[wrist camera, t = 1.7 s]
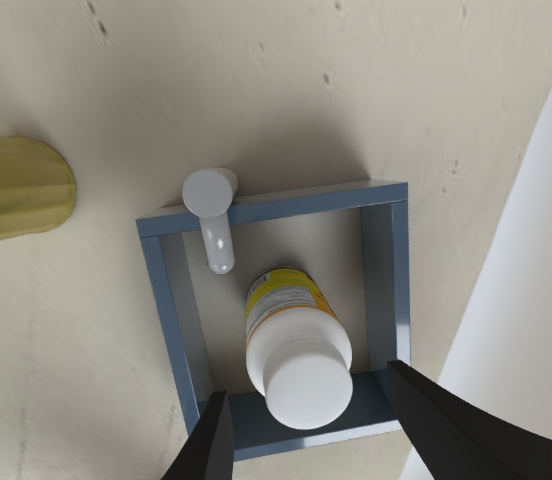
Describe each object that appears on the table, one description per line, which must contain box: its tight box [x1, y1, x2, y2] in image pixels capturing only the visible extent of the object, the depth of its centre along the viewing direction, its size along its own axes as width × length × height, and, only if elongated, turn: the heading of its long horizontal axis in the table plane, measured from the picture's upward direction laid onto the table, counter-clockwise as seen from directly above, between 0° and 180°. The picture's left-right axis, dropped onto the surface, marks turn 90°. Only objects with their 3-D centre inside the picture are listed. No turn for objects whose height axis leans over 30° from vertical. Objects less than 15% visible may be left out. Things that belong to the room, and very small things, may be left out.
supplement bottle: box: [246, 266, 353, 429], centre depth 18 cm, size 6×6×10 cm
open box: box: [135, 168, 411, 462], centre depth 19 cm, size 19×15×9 cm
